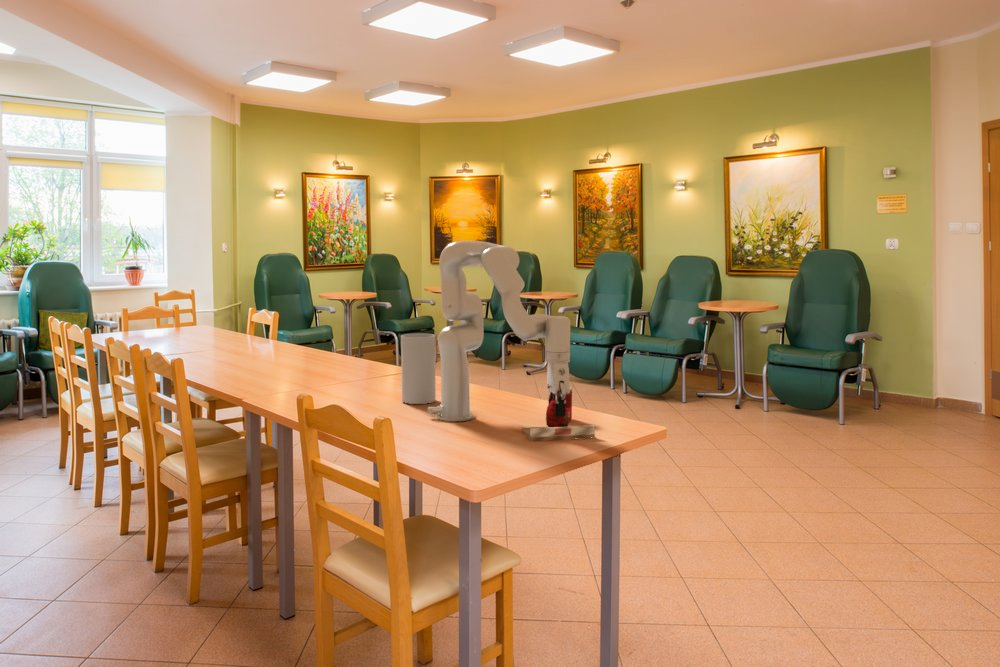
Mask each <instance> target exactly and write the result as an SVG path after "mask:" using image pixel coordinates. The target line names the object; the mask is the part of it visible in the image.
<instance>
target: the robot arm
mask: <svg viewBox="0 0 1000 667" xmlns="http://www.w3.org/2000/svg"><path fill="white" fill-rule="evenodd" d="M438 260H439V263H438V264H439V265H438V266H439V274H440V296H441V297H440V300H441V301H440V302H441V314H442V316H443V318H444V319H445V320H446V321H449V322H459V324H454V325H449V326H445V327H443V329H441V331H440V332H439V334H438V336H437V346H438V350H439V351H438V352H439V355H440V356H439V357H440V373H441V374H440V376H441V377H440V378H441V382H440V384H441V385H440V386H441V388H440V389H441V394H440V395H441V403H439V405H437V406H428V407H427V413H432V414H436V418H437V420H439V419H440V421H442V420H445V421H444V422H450V421H459V422H467V421H470V420H473V419H474V418H475V413H474V412H472V411H470V364H469V359H468V357H467V355H466V352H471V351H475V350H478V349H479V347H481V346H482V345H483V341H484V336H485V334H484V333H485V332H484V329H485V328H484V306H483V302H482V299H481V298H480V296H479V295H478V294H477V293H475V292H473V291H468V290H467V278H466V275H465V272H464V271H463V270H464V269H463V268H471V267H473V268H476V267H480V268H483V269H484V271H485V272H486V274H487V276H488V278H489V279H490V280H491V282H492V284H493V286H495V288H496V290H497V291H498V293H499V295H500V297H501V307H502V313H503V315H504V316H503V317H504V318H505V320H506V322H507V323H508V325H509V327H510V328H511V330H512V331H513V333H514V334H515V335H516V337H518V338H519V339H520V340H523V341H532V340H536V339H542V338H543V339H544V340H545V345H544V346H545V347H544V348H545V349H544V350H545V351H544V353H545V354H544V356H545V357H544V359H545V363H547V368H546V369H547V370H546V387H547V386H550V388H549V389H548V388H547V390H548V404H549V403H550V402H551V400H552V399H553V394H554V397H555V398H556V403H555V416H556V417H560V416H565V410H566V400H565V399H566V394H569V393H570V387H571V386H570V368H569V363H570V362H571V360H570V358H571V319H570V318H569V317H568V316H563V315H549V314H545V313H535V314H529V313H528V312H527V310H526V309H525V307H524V305H523V303H522V301H521V292H522V291H523V289H524V287H525V281H524V280H523V278H522V276H521V275H520V273H519V272H518V270H517V268H518V267H519V264H520V256H519V254H518V252H517V251H516V250H515V249H514V248H513V247H511V246H509V245H502V244H499V243H498V244H497V243H492V242H488V241H484V240H483V241H482V240H459V241H454V242H451V243H449V244H448V245H446V246H445V247H444V248H443V250H442V251H441V253H440V256H439V259H438ZM548 380H549V381H548ZM547 384H549V385H547ZM559 392H561V393H559ZM552 393H553V394H552ZM558 396H559V398H558Z"/></svg>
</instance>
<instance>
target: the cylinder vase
mask: <svg viewBox="0 0 1000 667" xmlns="http://www.w3.org/2000/svg"><path fill="white" fill-rule="evenodd" d="M400 349H401V350H400V354H401V356H400V357H401V358H400V361H401V362H400V363H401V364H400V365H401V401H402V402H403V403H404V402H405V404H406V403H409V404H408V405H413V404H422V405H427V403H429V404H432V403H434V402H435V401H436V399H437V398H436V396H437V395H436V394H437V393H436V336H435V334H433V333H422V332H421V333H418V332H417V333H405V334H402V335H400Z"/></svg>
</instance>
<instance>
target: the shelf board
mask: <svg viewBox="0 0 1000 667" xmlns="http://www.w3.org/2000/svg"><path fill="white" fill-rule="evenodd" d="M595 427H596V426H595V425H594V424H591V425H584V424H576V425H574V424H572V425H569V424H568V427H548V426H533V427H531V426H530V427H521V432H522V433H523V435H524V436H525V435H526V436H525V437H526V438H527V439H528V440H529V441H530V442H541V441H542V442H543V441H548V442H549V441H563V440H564V441H565V439H567V440H576V439H575V438H585V439H592V438H591V437H595V436H596V434H595V433H596V432H595V430H596V429H595Z"/></svg>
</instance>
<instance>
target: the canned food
mask: <svg viewBox="0 0 1000 667" xmlns="http://www.w3.org/2000/svg"><path fill="white" fill-rule="evenodd" d="M559 393H561V392H559ZM558 398H559V396H558ZM565 400H566V408H567V412H568V416H569V418H568V419H569V422H571V421H572V417H573V414H572V412H573V410H572V409H573V387H571V386H570V393H569V394H566V399H565ZM570 420H571V421H570Z"/></svg>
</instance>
